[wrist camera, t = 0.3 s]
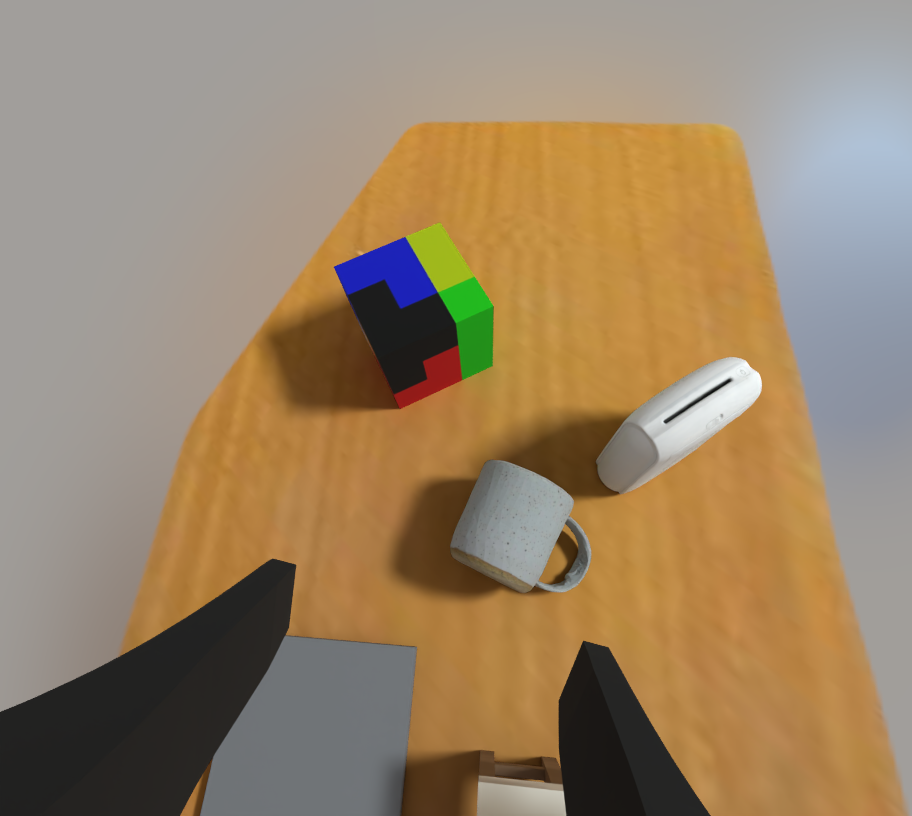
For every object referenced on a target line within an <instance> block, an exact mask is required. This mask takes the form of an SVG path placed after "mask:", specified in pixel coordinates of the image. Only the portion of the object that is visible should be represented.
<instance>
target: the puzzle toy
mask: <svg viewBox="0 0 912 816" xmlns="http://www.w3.org/2000/svg"><path fill="white" fill-rule="evenodd" d="M334 268H335V271H336V273H337V275H338V277H339V280H340V282H341V284H342V286H343V289H344V291H345V293H346V295H347V297H348V300H349V302H350V304H351V306H352V309H353V311H354V313H355V315H356V318H357V320H358V322H359V324H360V327H361V329H362V331H363V333H364V335H365V337H366V339H367V341H368V343H369V346H370V348H371V350H372V352H373V354H374V356H375V358H376V360H377V362H378V364H379V366H380V368H381V371H382V373H383V375H384V377H385V379H386V381H387V383H388V385H389V387H390V389H391V391H392V393H393V396H394V398H395V400H396V402H397V404H398V406H399V408H400V409H401V408H403V407H405V406H408V405H410V404H412V403H414V402H416V401H418V400H421V399H423V398H425V397H427V396H429V395H431V394H433V393H436V392H438V391H440V390H442V389H444V388H446V387H448V386H451V385H453V384H455V383H457V382H459V381H461V380H464V379H466V378H468V377H470V376H472V375H474V374H476V373H479V372H481V371H483V370H485V369H487V368H489V367H491V366H493V311H494V306H493V305H492V303H491V301H490V300H489V298H488V297H487V295H486V294H485V292H484V290H483V289H482V287H481V286H480V284H479V283H478V281H477V280H476V278H475V276H474V275H473V273H472V272H471V270H470V269H469V267H468V265H467V264H466V262H465V261H464V259H463V258H462V256H461V254H460V253H459V251H458V250H457V248H456V247H455V245H454V243H453V242H452V240H451V239H450V237H449V236H448V234H447V232H446V231H445V229H444V228H443V226H442V225H441V223H437V224H435V225H433V226H430V227H428V228H425V229H423V230H421V231H418V232H416V233H413V234H411V235H409V236H406V237H404V238H402V239H399V240H397V241H394V242H392V243H390V244H387V245H385V246H382V247H380V248H378V249H375V250H373V251H370V252H368V253H366V254H363V255H361V256H358V257H356V258H354V259H351V260H349V261H346V262H344V263H342V264H339V265H337V266H334Z"/></svg>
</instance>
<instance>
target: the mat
mask: <svg viewBox="0 0 912 816" xmlns="http://www.w3.org/2000/svg"><path fill="white" fill-rule="evenodd" d="M416 652H417V647H414V646H402V645H391V644H379V643H368V642H356V641H345V640H333V639H322V638H311V637H299V636H288V635H285V637H284V639H283V641H282V643H281V645H280V647H279V649H278V651H277V653H276V655H275V657H274V659H273V661H272V663H271V665H270V667H269V669H268V671H267V672H266V674H265V675H264V677H263V679H262V680H261V682H260V684H259V685H258V687H257V688H256V690H255V691H254V693H253V695H252V696H251V698H250V699H249V701H248V703H247V704H246V706H245V707H244V709H243V711H242V712H241V714H240V715H239V717H238V718H237V720H236V722H235V723H234V725H233V726H232V728H231V729H230V731H229V733H228V734H227V736H226V737H225V739H224V740H223V742H222V744H221V745H220V747H219V748H218V750H217V752H216V753H215V755H214V756H213V761H212V765H211V770H210V774H209V778H208V783H207V787H206V792H205V796H204V800H203V805H202V809H201V814H200V816H401V811H402V800H403V790H404V779H405V769H406V758H407V748H408V737H409V726H410V716H411V705H412V695H413V684H414V673H415V663H416Z"/></svg>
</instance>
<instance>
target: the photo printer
mask: <svg viewBox="0 0 912 816" xmlns="http://www.w3.org/2000/svg"><path fill="white" fill-rule="evenodd" d="M761 388H762V383H761V378H760V375H759V373H758V372H756V371H755V370H753V369H752V368H751V367H750V366H749V365H748V363H747V362H746V361H745V360H743V359H740V358H735V357H728V358H724V359H720V360H717V361H714V362H711V363H709V364H707V365H705V366H703V367H701V368H699V369H697V370H695V371H694V372H692V373H690V374H688V375H687V376H685V377H683V378H682V379H680V380H678V381H677V382H675V383H674V384H672V385H671V386H669V387H667V388H666V389H664V390H663V391H661V392H660V393H658V394H657V395H655V396H654V397H653V398H651V399H650V400H648V401H647V402H646V403H644V404H643V405H641V406H640V407H639V408H638V409H636V410H635V411H634V412H633V413H632V414H631V415H630V416H629V417H628V418H627V419H626V420H625V421H624V422H623V423H622V425H621V426H620V427H619V429H618V430H617V432H616V433H615V434H614V436H613V437H612V438H611V440H610V441H609V442H608V444H607V445H606V447H605V448H604V449H603V451H602V452H601V454H600V455H599V457H598V458H597V460H596V464H597V465H598V475H599V477H600V479H601V481H602V482H603V483H604V484H605V485H606V486H607V487H608V488H610V489H611V490H613V491H618V492H619V493H620V494H624V493H627V492H630V491H632V490H634V489H636V488H638V487H640V486H641V485H643V484H645V483H646V482H648V481H649V480H651V479H653V478H654V477H656V476H657V475H659V474H661V473H662V472H664V471H665V470H667V469H668V468H670V467H671V466H673V465H674V464H676V463H677V462H679V461H680V460H682V459H683V458H685V457H686V456H687V455H689V454H690V453H691V452H693V451H695V450H696V449H697V448H698V447H699V446H701V445H702V444H703V443H704V442H706V441H707V440H708V439H709V438H711V437H712V436H713V435H715V434H716V433H717V432H718V431H720V430H721V429H722V428H723V427H725V426H726V425H727V424H728V423H730V422H731V421H732V420H734V419H735V418H736V417H739V416H740V415H741V414H742V413H743V412H744V411H745V410H746V409H747V408H749V407H750V406H751V405H752V404H753V403H754V402H755V400H756V399H757V398H758V396H759V395H760V393H761Z"/></svg>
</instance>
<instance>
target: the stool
mask: <svg viewBox="0 0 912 816" xmlns="http://www.w3.org/2000/svg"><path fill="white" fill-rule="evenodd" d="M495 775H497V776H506V777H515V778H525V779H534V780H543V781H544V782H545V783H543V782H534V781H525V780H516V779H507V778H498V777H495ZM477 816H566V809H565V800H564V791H563V782H562V773H561V768H560V766H559V764H558V762H557V759H556V758H550V757H542V767H539V766H529V765H520V764H511V763H501V762H495V761H494V752H493V751H484V750H480V763H479V780H478V802H477Z"/></svg>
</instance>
